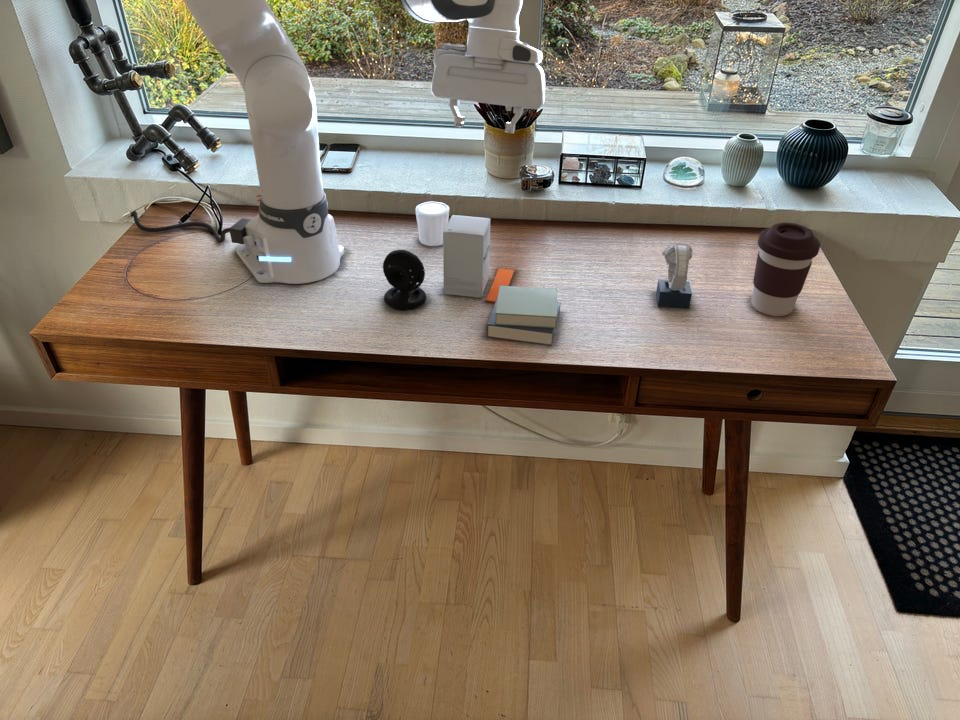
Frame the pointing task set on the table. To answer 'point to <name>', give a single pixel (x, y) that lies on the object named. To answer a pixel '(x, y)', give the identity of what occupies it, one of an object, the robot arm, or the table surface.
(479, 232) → the white packaging box
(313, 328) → the table surface
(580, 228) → the table surface
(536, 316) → the book stack
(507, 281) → the orange rectangular block
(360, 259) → the table surface
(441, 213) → the white cup
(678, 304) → the watch
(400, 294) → the webcam
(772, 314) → the coffee cup
